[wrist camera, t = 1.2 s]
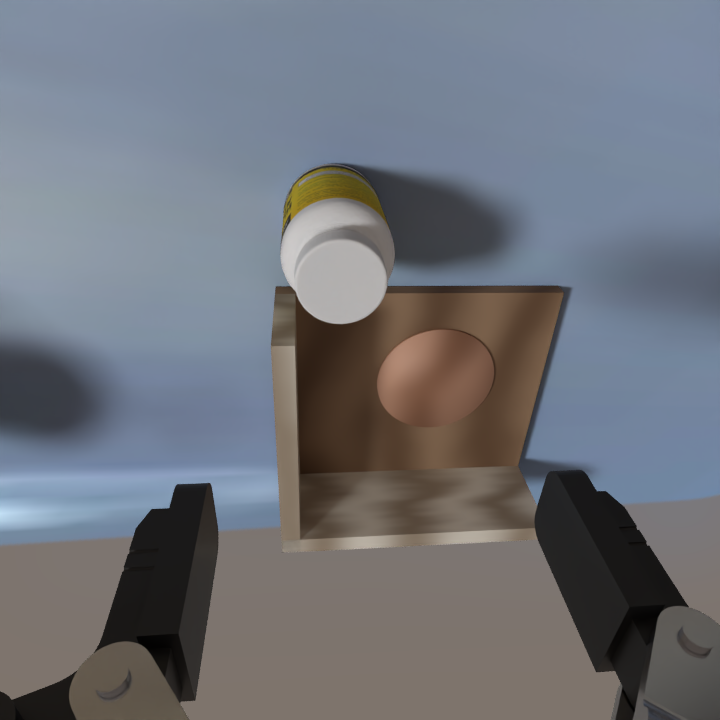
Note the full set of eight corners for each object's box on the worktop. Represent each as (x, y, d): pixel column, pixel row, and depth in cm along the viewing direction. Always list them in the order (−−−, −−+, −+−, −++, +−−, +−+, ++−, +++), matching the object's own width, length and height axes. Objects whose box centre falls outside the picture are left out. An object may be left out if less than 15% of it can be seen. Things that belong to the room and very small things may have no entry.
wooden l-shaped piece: (557, 285, 35) (609, 341, 30) (510, 468, 44) (543, 539, 38) (275, 286, 34) (270, 346, 28) (284, 476, 42) (282, 552, 36)
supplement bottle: (273, 171, 30) (264, 234, 22) (371, 153, 30) (398, 209, 22) (295, 262, 33) (293, 348, 25) (384, 246, 33) (412, 326, 25)
